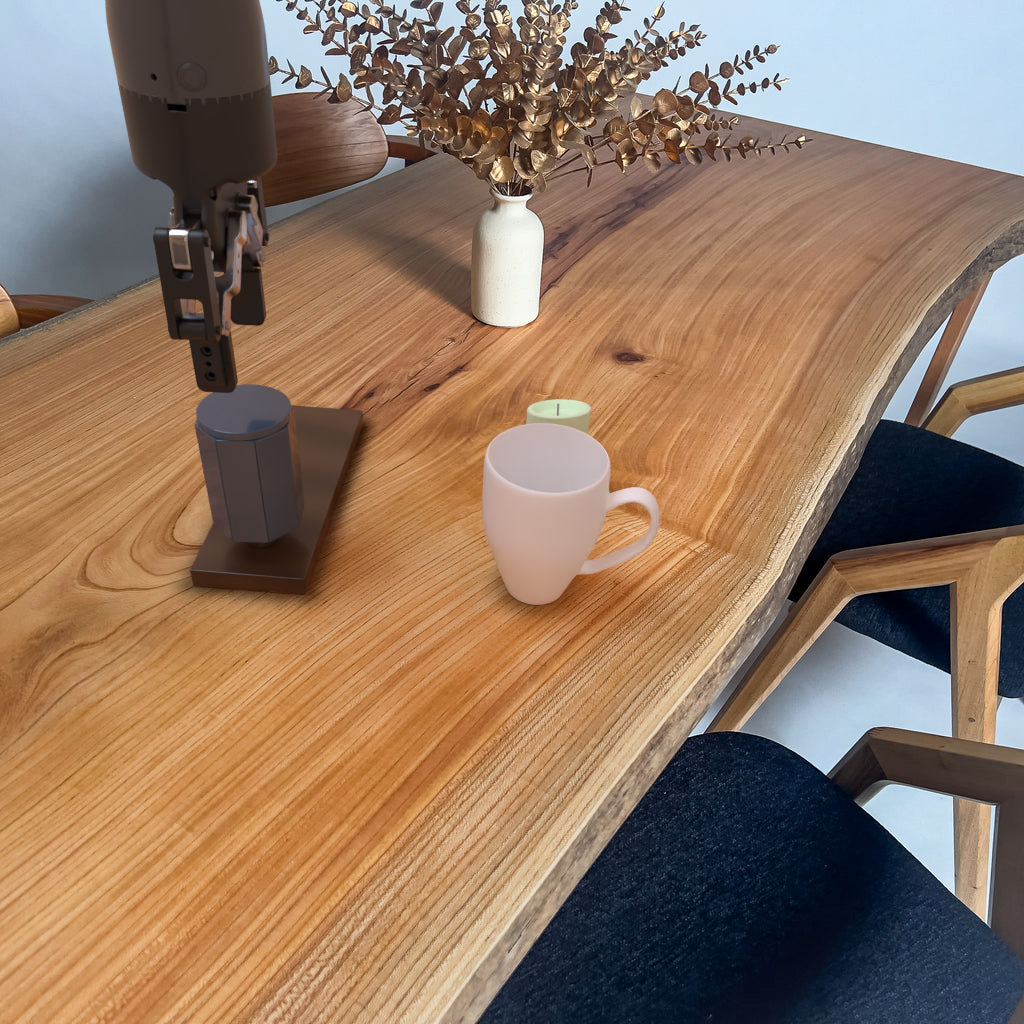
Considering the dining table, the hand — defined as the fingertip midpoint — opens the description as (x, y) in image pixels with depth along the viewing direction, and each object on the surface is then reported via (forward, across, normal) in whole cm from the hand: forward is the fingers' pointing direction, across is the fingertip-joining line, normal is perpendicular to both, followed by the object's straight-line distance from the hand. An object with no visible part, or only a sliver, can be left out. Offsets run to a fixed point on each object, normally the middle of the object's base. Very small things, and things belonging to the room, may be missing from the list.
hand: (234, 354), depth 56 cm
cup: (+13, 0, 0) cm, 13 cm away
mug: (+17, +3, +22) cm, 28 cm away
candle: (+17, -10, +22) cm, 29 cm away
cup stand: (+16, -7, 0) cm, 18 cm away
